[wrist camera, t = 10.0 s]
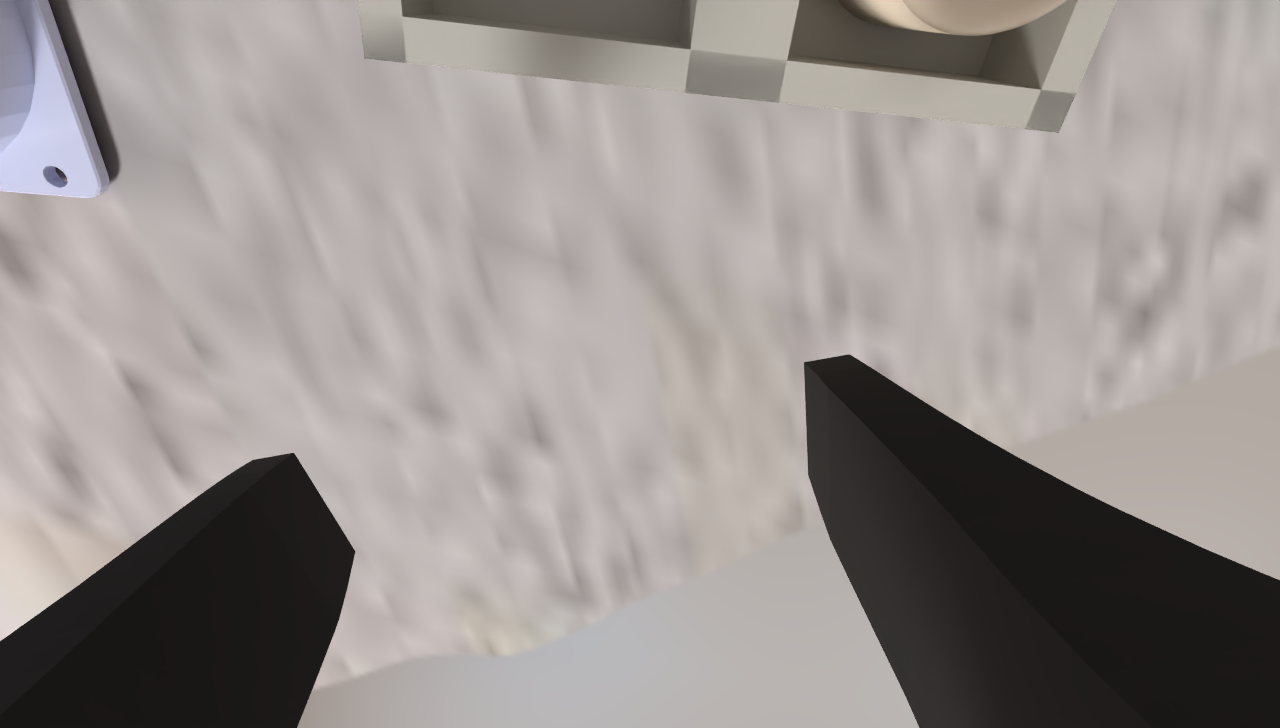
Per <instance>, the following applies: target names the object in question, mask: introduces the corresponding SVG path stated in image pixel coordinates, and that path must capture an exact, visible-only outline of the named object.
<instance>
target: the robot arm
mask: <svg viewBox="0 0 1280 728" xmlns="http://www.w3.org/2000/svg"><path fill="white" fill-rule="evenodd" d="M55 167H57V168H59V169H60V170H61V171H63V172H64V174H65V175H66V177H67V182H65V181H64V180H62V179H61V178H60V177H59V176H58V174H57V173H56V169H55ZM109 185H110V183H109V176H108V173H107V170H106V168H105V165H104V162H103V159H102V156H101V153H100V150H99V147H98V144H97V141H96V138H95V136H94V133H93V130H92V127H91V124H90V121H89V118H88V115H87V112H86V109H85V106H84V103H83V101H82V98H81V95H80V92H79V89H78V86H77V83H76V80H75V77H74V74H73V71H72V69H71V66H70V63H69V60H68V57H67V54H66V51H65V48H64V45H63V42H62V39H61V37H60V34H59V31H58V28H57V25H56V22H55V19H54V16H53V13H52V10H51V7H50V4H49V2H48V0H0V191H6V192H18V193H30V194H43V195H55V196H67V197H80V198H91V197H95V196H98V195H100V194H102V193H104V192H105V191H107V190H108V187H109ZM804 373H805V400H806V426H807V452H808V475H809V478H810V481H811V484H812V487H813V490H814V493H815V496H816V499H817V502H818V505H819V508H820V511H821V514H822V517H823V520H824V523H825V526H826V529H827V531H828V534H829V537H830V540H831V541H832V544H833V546H834V548H835V550H836V552H837V554H838V557H839V559H840V561H841V563H842V565H843V567H844V569H845V571H846V573H847V576H848V578H849V580H850V582H851V584H852V586H853V588H854V590H855V592H856V594H857V597H858V598H859V601H860V603H861V605H862V607H863V609H864V611H865V613H866V615H867V617H868V619H869V621H870V623H871V625H872V628H873V630H874V632H875V634H876V636H877V638H878V640H879V642H880V644H881V646H882V648H883V650H884V652H885V654H886V656H887V658H888V661H889V663H890V665H891V667H892V669H893V671H894V673H895V675H896V677H897V679H898V681H899V683H900V685H901V688H902V690H903V692H904V694H905V696H906V698H907V700H908V703H909V705H910V707H911V709H912V712H913V714H914V716H915V719H916V721H917V723H918V725H919V728H1280V580H1278V579H1275V578H1273V577H1270V576H1268V575H1265V574H1263V573H1260V572H1258V571H1256V570H1253V569H1251V568H1248V567H1246V566H1244V565H1241V564H1239V563H1237V562H1234V561H1232V560H1230V559H1227V558H1225V557H1223V556H1220V555H1218V554H1216V553H1213V552H1211V551H1209V550H1206V549H1204V548H1201V547H1199V546H1197V545H1195V544H1193V543H1191V542H1188V541H1186V540H1184V539H1182V538H1180V537H1178V536H1175V535H1173V534H1171V533H1169V532H1167V531H1164V530H1162V529H1160V528H1158V527H1156V526H1154V525H1151V524H1149V523H1147V522H1145V521H1143V520H1141V519H1138V518H1136V517H1134V516H1132V515H1130V514H1127V513H1125V512H1123V511H1121V510H1119V509H1117V508H1115V507H1112V506H1110V505H1109V504H1106V503H1104V502H1102V501H1100V500H1098V499H1096V498H1094V497H1092V496H1090V495H1088V494H1086V493H1084V492H1082V491H1080V490H1078V489H1076V488H1074V487H1072V486H1070V485H1069V484H1067V483H1065V482H1063V481H1061V480H1059V479H1057V478H1056V477H1054V476H1052V475H1050V474H1048V473H1046V472H1044V471H1043V470H1041V469H1039V468H1037V467H1035V466H1033V465H1031V464H1029V463H1027V462H1026V461H1024V460H1022V459H1020V458H1018V457H1016V456H1014V455H1013V454H1011V453H1009V452H1007V451H1006V450H1004V449H1002V448H1000V447H999V446H997V445H995V444H993V443H992V442H990V441H988V440H986V439H985V438H983V437H981V436H980V435H978V434H976V433H974V432H973V431H971V430H969V429H968V428H966V427H964V426H963V425H961V424H959V423H958V422H956V421H954V420H953V419H951V418H949V417H948V416H946V415H945V414H943V413H941V412H940V411H938V410H936V409H935V408H933V407H932V406H930V405H928V404H927V403H925V402H924V401H922V400H920V399H919V398H917V397H916V396H914V395H913V394H911V393H909V392H908V391H906V390H905V389H903V388H902V387H900V386H899V385H897V384H895V383H894V382H892V381H891V380H889V379H888V378H886V377H885V376H883V375H881V374H880V373H878V372H877V371H875V370H874V369H872V368H871V367H869V366H867V365H866V364H864V363H863V362H861V361H859V360H858V359H856V358H854V357H853V356H851V355H843V356H838V357H832V358H826V359H821V360H815V361H810V362H804ZM354 555H355V550H354V549H353V547H352V545H351V544H350V542H349V541H348V539H347V537H346V536H345V534H344V533H343V531H342V529H341V528H340V526H339V525H338V523H337V521H336V520H335V518H334V516H333V515H332V513H331V512H330V510H329V508H328V507H327V505H326V504H325V502H324V500H323V499H322V497H321V496H320V494H319V492H318V491H317V489H316V488H315V486H314V484H313V483H312V481H311V479H310V478H309V476H308V475H307V473H306V471H305V470H304V468H303V467H302V465H301V463H300V462H299V460H298V459H297V457H296V455H295V454H294V453H290V454H284V455H279V456H273V457H268V458H262V459H256V460H252V461H251V462H249V463H247V464H246V465H244V466H242V467H241V468H239V469H237V470H236V471H234V472H233V473H231V474H230V475H228V476H227V477H225V478H224V479H222V480H221V481H219V482H218V483H216V484H215V485H213V486H212V487H211V488H209V489H208V490H206V491H205V492H204V493H202V494H201V495H199V496H198V497H197V498H195V499H194V500H192V501H191V502H190V503H188V504H187V505H186V506H184V507H183V508H182V509H180V510H179V511H177V512H176V513H175V514H173V515H172V516H171V517H169V518H168V519H167V520H165V521H164V522H163V523H161V524H160V525H159V526H157V527H156V528H155V529H153V530H152V531H151V532H149V533H148V534H147V535H145V536H144V537H143V538H141V539H140V540H139V541H137V542H136V543H135V544H133V545H132V546H131V547H129V548H128V549H127V550H125V551H124V552H123V553H121V554H120V555H119V556H117V557H116V558H115V559H113V560H112V561H111V562H109V563H108V564H107V565H105V566H104V567H103V568H101V569H100V570H99V571H97V572H96V573H95V574H93V575H92V576H90V577H89V578H88V579H86V580H85V581H84V582H82V583H81V584H80V585H78V586H77V587H76V588H74V589H73V590H71V591H70V592H69V593H67V594H66V595H64V596H63V597H62V598H60V599H59V600H57V601H56V602H55V603H53V604H52V605H50V606H49V607H48V608H46V609H45V610H43V611H42V612H41V613H39V614H38V615H37V616H35V617H34V618H32V619H31V620H30V621H28V622H27V623H25V624H24V625H23V626H21V627H20V628H18V629H17V630H16V631H14V632H13V633H11V634H10V635H9V636H7V637H6V638H4V639H3V640H2V641H0V728H297V726H298V723H299V721H300V719H301V716H302V714H303V711H304V709H305V706H306V704H307V701H308V699H309V696H310V694H311V691H312V689H313V686H314V684H315V681H316V679H317V676H318V673H319V671H320V668H321V666H322V663H323V660H324V658H325V655H326V653H327V650H328V647H329V645H330V642H331V640H332V637H333V634H334V632H335V629H336V626H337V623H338V621H339V617H340V614H341V610H342V606H343V602H344V598H345V595H346V591H347V587H348V582H349V578H350V573H351V568H352V564H353V559H354Z"/></svg>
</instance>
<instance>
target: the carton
mask: <svg viewBox="0 0 1280 728" xmlns="http://www.w3.org/2000/svg"><path fill="white" fill-rule="evenodd" d="M1116 1H1117V0H1067V1H1066V2H1064V3H1063V4H1061V5H1060V6H1058V7H1057V8H1055V9H1054V10H1052V11H1051V12H1049V13H1047V14H1045V15H1043V16H1041V17H1039V18H1038V19H1036V20H1034V21H1032V22H1030V23H1027V24H1025V25H1022V26H1020V27H1017V28H1014V29H1011V30H1007V31H1003V32H999V33H995V34H988V35H979V36H966V35H952V34H944V33H935V32H927V31H918V30H910V29H901V28H893V27H884V26H878V25H873V24H870V23H867V22H865V21H862V20H860V19H858V18H857V17H855V16H853V15H852V14H851V13H850V12H848V11H847V10H846V9H845V8H844V7H843V6H842V5H841V4H840V3H839V1H838V0H358V8H359V16H360V25H361V33H362V42H363V50H364V58H365V59H375V60H384V61H394V62H403V63H412V64H422V65H431V66H440V67H450V68H459V69H468V70H478V71H487V72H496V73H506V74H515V75H524V76H534V77H543V78H553V79H562V80H571V81H581V82H590V83H599V84H609V85H618V86H627V87H637V88H646V89H655V90H665V91H674V92H683V93H693V94H702V95H711V96H721V97H730V98H740V99H749V100H758V101H768V102H777V103H786V104H796V105H805V106H814V107H824V108H833V109H842V110H852V111H861V112H870V113H880V114H889V115H899V116H908V117H917V118H927V119H936V120H945V121H955V122H964V123H973V124H983V125H992V126H1001V127H1011V128H1020V129H1029V130H1039V131H1048V132H1057V133H1059V131H1060V128H1061V126H1062V124H1063V122H1064V119H1065V117H1066V115H1067V112H1068V110H1069V108H1070V106H1071V103H1072V101H1073V99H1074V96H1075V94H1076V92H1077V90H1078V87H1079V85H1080V83H1081V81H1082V78H1083V76H1084V74H1085V71H1086V69H1087V67H1088V65H1089V62H1090V60H1091V58H1092V55H1093V53H1094V51H1095V49H1096V46H1097V44H1098V42H1099V39H1100V37H1101V35H1102V33H1103V30H1104V28H1105V26H1106V23H1107V21H1108V19H1109V17H1110V14H1111V12H1112V10H1113V7H1114V5H1115V3H1116Z"/></svg>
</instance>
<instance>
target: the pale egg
mask: <svg viewBox="0 0 1280 728" xmlns="http://www.w3.org/2000/svg"><path fill="white" fill-rule="evenodd" d="M838 1H839V3H840V4H841V5H842V6H843V7H844V8H845V9H846V10H847V11H848V12H850V13H851V14H852V15H853V16H855V17H857V18H858V19H860V20H862V21H865V22H867V23H870V24H873V25H878V26H884V27H893V28H901V29H910V30H918V31H927V32H935V33H944V34H952V35H966V36H979V35H988V34H995V33H999V32H1003V31H1007V30H1011V29H1014V28H1017V27H1020V26H1022V25H1025V24H1027V23H1030V22H1032V21H1034V20H1036V19H1038V18H1039V17H1041V16H1043V15H1045V14H1047V13H1049V12H1051V11H1052V10H1054V9H1055V8H1057V7H1058V6H1060V5H1061V4H1063V3H1064V2H1066V1H1067V0H838Z"/></svg>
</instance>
